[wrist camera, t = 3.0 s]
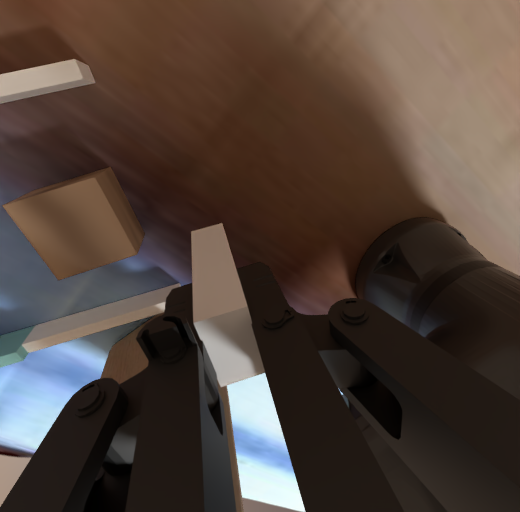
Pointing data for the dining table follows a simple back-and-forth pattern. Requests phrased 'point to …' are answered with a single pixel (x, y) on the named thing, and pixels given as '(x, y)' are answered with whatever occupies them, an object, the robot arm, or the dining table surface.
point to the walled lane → (92, 320)
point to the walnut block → (79, 223)
